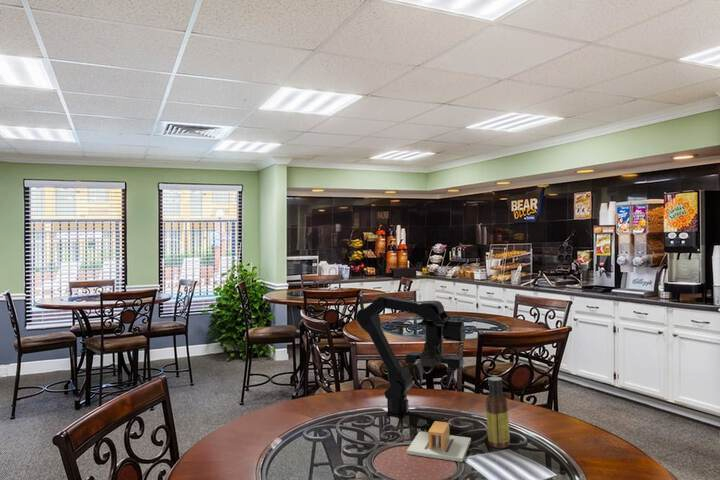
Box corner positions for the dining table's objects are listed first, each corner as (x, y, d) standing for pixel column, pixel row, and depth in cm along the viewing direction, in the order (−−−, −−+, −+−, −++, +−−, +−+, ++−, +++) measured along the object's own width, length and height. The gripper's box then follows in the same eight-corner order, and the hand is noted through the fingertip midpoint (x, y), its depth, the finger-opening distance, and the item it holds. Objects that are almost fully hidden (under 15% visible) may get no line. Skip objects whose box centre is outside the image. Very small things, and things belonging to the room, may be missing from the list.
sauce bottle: (510, 441, 152) (508, 375, 151) (509, 450, 146) (507, 382, 145) (487, 439, 154) (486, 374, 153) (486, 448, 148) (484, 380, 147)
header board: (406, 453, 146) (406, 436, 146) (419, 434, 159) (419, 418, 159) (462, 462, 140) (461, 444, 140) (471, 441, 153) (470, 424, 153)
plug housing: (443, 451, 145) (443, 433, 145) (428, 448, 147) (428, 431, 146) (449, 439, 152) (449, 422, 152) (435, 437, 154) (434, 421, 154)
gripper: (399, 342, 166) (399, 389, 167) (455, 347, 159) (455, 396, 159) (410, 334, 177) (411, 379, 177) (463, 339, 169) (464, 385, 169)
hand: (434, 385), depth 170 cm, fingers open, 9 cm apart
